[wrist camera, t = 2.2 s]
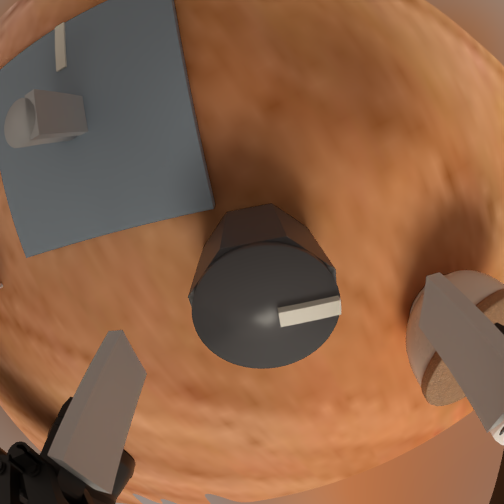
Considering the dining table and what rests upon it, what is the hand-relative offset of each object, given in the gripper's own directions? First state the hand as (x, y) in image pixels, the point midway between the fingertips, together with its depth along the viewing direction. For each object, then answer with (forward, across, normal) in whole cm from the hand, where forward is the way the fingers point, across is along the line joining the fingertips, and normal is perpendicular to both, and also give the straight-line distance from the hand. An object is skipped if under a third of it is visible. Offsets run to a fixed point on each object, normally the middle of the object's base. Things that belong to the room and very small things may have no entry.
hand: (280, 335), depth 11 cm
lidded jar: (+9, +14, -8) cm, 19 cm away
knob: (+8, 0, 0) cm, 8 cm away
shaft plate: (+8, -10, +12) cm, 18 cm away
